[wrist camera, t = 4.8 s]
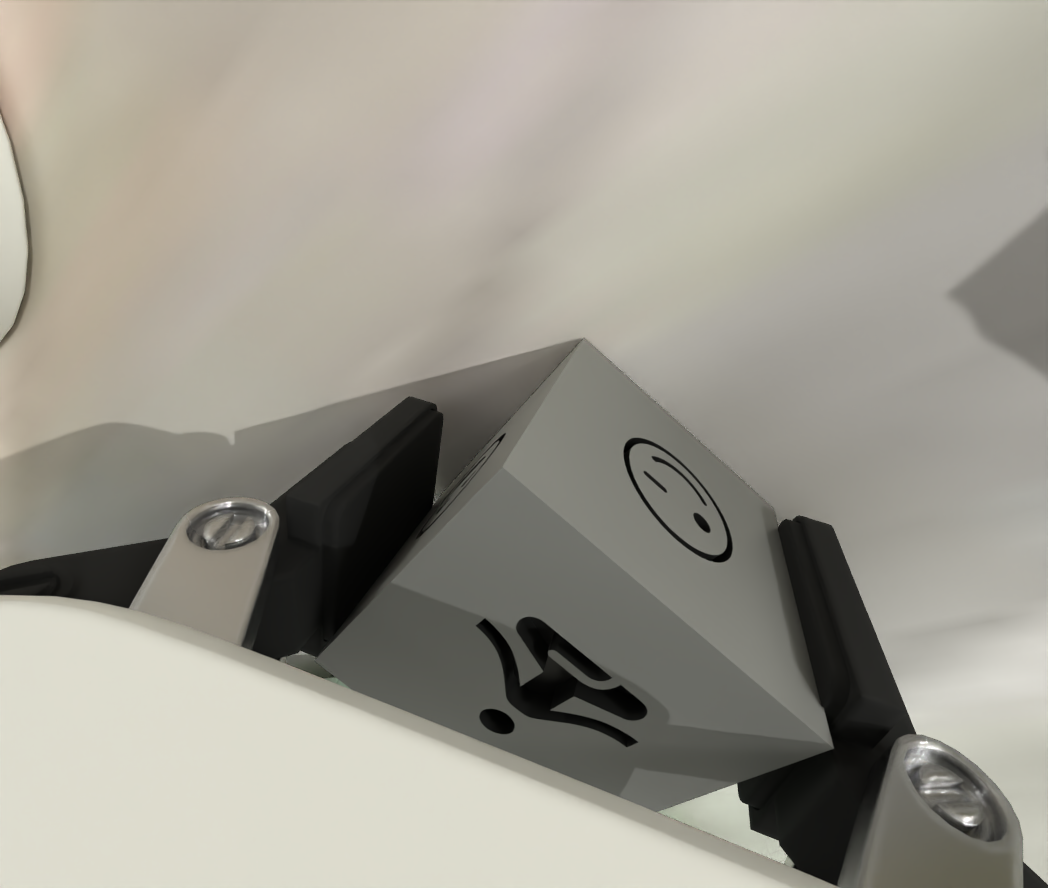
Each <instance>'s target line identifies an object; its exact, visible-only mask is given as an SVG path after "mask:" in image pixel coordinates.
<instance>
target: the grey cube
mask: <svg viewBox="0 0 1048 888" xmlns="http://www.w3.org/2000/svg"><path fill="white" fill-rule="evenodd" d="M314 661H315V662H316V663H318V664H319V665H320V666H321V667H323V668H324V669H325V670H327V671H328V672H329V673H331V674H332V675H333V676H335V677H336V678H337V679H338V680H340V681H341V682H342V683H344V684H345V685H346V686H348V687H349V688H350V689H352V690H354V691H356V692H359V693H361V694H364V695H366V696H369V697H371V698H374V699H376V700H379V701H381V702H384V703H386V704H389V705H391V706H394V707H397V708H399V709H402V710H404V711H407V712H409V713H412V714H414V715H417V716H419V717H422V718H424V719H427V720H429V721H432V722H434V723H437V724H439V725H442V726H444V727H447V728H449V729H452V730H454V731H457V732H459V733H462V734H464V735H467V736H469V737H472V738H474V739H477V740H479V741H482V742H484V743H487V744H489V745H492V746H494V747H496V748H499V749H501V750H504V751H506V752H509V753H511V754H514V755H516V756H519V757H521V758H524V759H526V760H529V761H531V762H534V763H536V764H539V765H541V766H544V767H546V768H549V769H551V770H554V771H556V772H559V773H561V774H564V775H566V776H568V777H571V778H573V779H576V780H578V781H581V782H583V783H586V784H588V785H591V786H593V787H596V788H598V789H601V790H603V791H606V792H608V793H611V794H613V795H616V796H618V797H620V798H623V799H625V800H628V801H630V802H633V803H635V804H638V805H640V806H643V807H645V808H647V809H650V810H652V811H655V812H658V811H661V810H664V809H666V808H669V807H672V806H675V805H678V804H680V803H683V802H686V801H689V800H692V799H694V798H697V797H700V796H703V795H706V794H708V793H711V792H714V791H717V790H720V789H722V788H725V787H728V786H731V785H734V784H736V783H739V782H742V781H745V780H748V779H750V778H753V777H756V776H759V775H762V774H764V773H767V772H770V771H773V770H776V769H778V768H781V767H784V766H787V765H789V764H792V763H795V762H798V761H801V760H803V759H806V758H809V757H812V756H815V755H817V754H820V753H823V752H826V751H829V750H831V749H834V747H833V743H832V739H831V735H830V731H829V727H828V723H827V719H826V715H825V711H824V708H823V707H822V706H821V703H820V699H819V695H818V691H817V687H816V683H815V678H814V674H813V670H812V666H811V662H810V658H809V654H808V650H807V646H806V642H805V638H804V634H803V630H802V626H801V622H800V618H799V614H798V609H797V605H796V601H795V597H794V593H793V589H792V585H791V581H790V577H789V573H788V569H787V565H786V561H785V557H784V553H783V549H782V545H781V540H780V536H779V532H778V524H777V520H776V516H775V512H774V508H773V507H771V506H770V505H769V504H768V503H767V502H766V501H765V500H764V499H763V498H761V497H760V496H759V495H758V494H757V493H756V492H755V491H754V490H753V489H751V488H750V487H749V486H748V485H747V484H746V483H745V482H744V481H743V480H741V479H740V478H739V477H738V476H737V475H736V474H735V473H734V472H733V471H731V470H730V469H729V468H728V467H727V466H726V465H725V464H724V463H723V462H721V461H720V460H719V459H718V458H717V457H716V456H715V455H714V454H713V453H712V452H710V451H709V450H708V449H707V448H706V447H705V446H704V445H703V444H702V443H700V442H699V441H698V440H697V439H696V438H695V437H694V436H693V435H692V434H690V433H689V432H688V431H687V430H686V429H685V428H684V427H683V426H682V425H680V424H679V423H678V422H677V421H676V420H675V419H674V418H673V417H672V416H670V415H669V414H668V413H667V412H666V411H665V410H664V409H663V408H662V407H660V406H659V405H658V404H657V403H656V402H655V401H654V400H653V399H652V398H650V397H649V396H648V395H647V394H646V393H645V392H644V391H643V390H642V389H640V388H639V387H638V386H637V385H636V384H635V383H634V382H633V381H632V380H630V379H629V378H628V377H627V376H626V375H625V374H624V373H623V372H622V371H620V370H619V369H618V368H617V367H616V366H615V365H614V364H613V363H612V362H610V361H609V360H608V359H607V358H606V357H605V356H604V355H603V354H602V353H600V352H599V351H598V350H597V349H596V348H595V347H594V346H593V345H592V344H590V343H589V342H588V341H587V340H586V339H585V338H583V339H582V340H581V341H580V343H579V344H578V345H577V346H576V347H575V348H574V349H573V350H572V351H571V352H570V354H569V355H568V356H567V357H566V358H565V359H564V360H563V361H562V362H561V363H560V365H559V366H558V367H557V368H556V369H555V370H554V371H553V372H552V373H551V374H550V376H549V377H548V378H547V379H546V380H545V381H544V382H543V383H542V384H541V385H540V387H539V388H538V389H537V390H536V391H535V392H534V393H533V394H532V395H531V396H530V398H529V399H528V400H527V401H526V402H525V403H524V404H523V405H522V406H521V407H520V408H519V410H518V411H517V412H516V413H515V414H514V415H513V416H512V417H511V418H510V419H509V421H508V422H507V423H506V424H505V425H504V426H503V427H502V428H501V429H500V430H499V432H498V433H497V434H496V435H495V436H494V437H493V438H492V439H491V440H490V441H489V443H488V444H487V445H486V446H485V447H484V448H483V449H482V450H481V451H480V452H479V454H478V455H477V456H476V457H475V458H474V459H473V460H472V461H471V462H470V463H469V465H468V466H467V467H466V468H465V469H464V470H463V471H462V472H461V473H460V474H459V475H458V477H457V478H456V479H455V480H454V481H453V482H452V483H451V484H450V485H449V486H448V488H447V489H446V490H445V491H444V492H443V493H442V495H441V496H440V497H439V499H438V500H437V501H436V503H435V504H434V505H433V507H432V508H431V509H430V511H429V512H428V513H427V515H426V516H425V517H424V518H423V520H422V521H421V522H420V524H419V525H418V526H417V528H416V529H415V530H414V531H413V533H412V534H411V535H410V537H409V538H408V539H407V541H406V542H405V543H404V545H403V546H402V547H401V548H400V550H399V551H398V552H397V554H396V555H395V556H394V558H393V559H392V560H391V562H390V563H389V564H388V565H387V567H386V568H385V569H384V571H383V572H382V573H381V575H380V576H379V577H378V578H377V580H376V581H375V582H374V584H373V585H372V586H371V588H370V589H369V590H368V592H367V593H366V594H365V595H364V597H363V598H362V599H361V601H360V602H359V603H358V605H357V606H356V607H355V608H354V610H353V611H352V612H351V614H350V615H349V616H348V618H347V619H346V620H345V622H344V623H343V624H342V625H341V627H340V628H339V629H338V631H337V632H336V633H335V634H334V636H333V637H332V638H331V639H330V641H329V642H328V643H327V645H326V646H325V647H324V649H323V650H322V651H321V653H320V654H319V655H318V656H317V658H316V659H315V660H314Z"/></svg>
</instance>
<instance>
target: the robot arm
mask: <svg viewBox="0 0 1048 888" xmlns="http://www.w3.org/2000/svg"><path fill="white" fill-rule="evenodd" d="M28 250H29V249H28V239H27V228H26V218H25V207H24V198H23V194H22V190H21V185H20V181H19V177H18V173H17V169H16V164H15V160H14V156H13V152H12V148H11V143H10V139H9V136H8V134H7V131H6V128H5V125H4V123H3V120H2V117H1V114H0V341H1V340H2V339H3V338H4V336H5V335H6V334H7V332H8V331H9V330H10V329H11V327H12V326H13V324H14V321H15V319H16V316H17V313H18V310H19V307H20V304H21V301H22V298H23V295H24V292H25V285H26V273H27V262H28ZM442 426H443V414H442V413H440V412H437V407H436V405H435V404H434V403H430V402H427V401H424V400H420V399H417V398H414V397H410V396H409V397H407V398H406V399H405V400H403V401H402V402H401V403H400V404H398V405H397V406H396V407H395V408H393V409H392V410H391V411H390V412H388V413H387V414H386V415H385V416H383V417H382V418H381V419H380V420H378V421H377V422H376V423H375V424H373V425H372V426H371V427H370V428H368V429H367V430H366V431H365V432H363V433H362V434H361V435H360V436H358V437H357V438H356V439H355V440H353V441H352V442H349V443H348V444H346V445H344V446H343V447H342V448H341V449H339V450H338V451H337V452H336V453H334V454H333V455H332V456H331V457H329V458H328V459H327V460H326V461H324V462H323V463H322V464H321V465H319V466H318V467H317V468H316V469H314V470H313V471H312V472H310V473H309V474H308V475H307V476H305V477H304V478H303V479H302V480H300V481H299V482H298V483H297V484H295V485H294V486H293V487H292V488H290V489H289V490H288V491H287V492H285V493H284V494H283V495H281V496H280V497H279V498H278V499H276V500H275V501H274V502H273V503H271V504H270V505H269V504H268V503H266V502H263V501H260V500H257V499H253V498H246V497H230V498H222V499H218V500H213V501H210V502H207V503H205V504H202V505H200V506H197V507H195V508H194V509H192V510H191V511H189V512H188V513H186V514H185V515H184V516H183V517H182V518H181V520H180V521H179V522H178V523H177V524H176V526H175V528H174V530H173V531H172V533H171V535H170V537H169V538H167V539H161V540H155V541H149V542H142V543H136V544H130V545H124V546H118V547H112V548H106V549H100V550H94V551H88V552H82V553H76V554H69V555H63V556H57V557H51V558H45V559H39V560H33V561H29V562H25V563H21V564H16V565H12V566H10V567H7V568H5V569H2V570H0V888H1048V885H1047V884H1046V883H1045V882H1044V881H1043V880H1042V879H1041V878H1040V877H1039V876H1038V875H1037V874H1036V873H1035V872H1034V871H1032V870H1031V869H1030V868H1029V867H1028V866H1027V865H1026V864H1025V863H1024V862H1023V836H1022V832H1021V827H1020V822H1019V820H1018V818H1017V816H1016V814H1015V812H1014V810H1013V808H1012V806H1011V804H1010V802H1009V801H1008V800H1007V798H1006V797H1005V796H1004V794H1003V793H1002V792H1001V790H1000V789H999V788H998V787H997V785H996V784H995V783H994V782H993V781H992V780H991V779H990V778H989V777H988V776H987V775H986V774H985V773H984V772H983V771H982V770H981V769H980V768H979V767H978V766H977V765H976V764H974V763H973V762H972V761H970V760H969V759H968V758H966V757H965V756H964V755H962V754H961V753H960V752H959V751H957V750H955V749H953V748H951V747H950V746H948V745H946V744H944V743H942V742H941V741H938V740H936V739H933V738H930V737H927V736H924V735H916V732H915V730H914V727H913V725H912V722H911V720H910V717H909V715H908V712H907V710H906V707H905V705H904V702H903V700H902V697H901V695H900V692H899V690H898V687H897V685H896V682H895V680H894V678H893V675H892V673H891V670H890V668H889V665H888V663H887V660H886V658H885V655H884V653H883V650H882V648H881V645H880V643H879V640H878V638H877V635H876V633H875V630H874V628H873V625H872V623H871V620H870V618H869V616H868V613H867V611H866V608H865V606H864V603H863V601H862V598H861V596H860V594H859V591H858V589H857V586H856V584H855V581H854V579H853V576H852V574H851V571H850V569H849V566H848V564H847V561H846V559H845V556H844V554H843V551H842V549H841V546H840V544H839V541H838V539H837V536H836V534H835V531H834V529H833V527H832V526H831V525H829V524H826V523H823V522H819V521H816V520H813V519H810V518H806V517H803V516H800V515H799V516H796V517H795V518H794V519H793V520H792V521H791V520H787V519H785V520H783V521H782V522H781V524H780V525H779V527H778V532H779V536H780V540H781V545H782V549H783V553H784V557H785V561H786V565H787V569H788V573H789V577H790V581H791V585H792V589H793V593H794V597H795V601H796V605H797V609H798V614H799V618H800V622H801V626H802V630H803V634H804V638H805V642H806V646H807V650H808V654H809V658H810V662H811V666H812V670H813V674H814V678H815V683H816V687H817V691H818V695H819V699H820V703H821V706H822V707H823V708H824V711H825V715H826V719H827V723H828V727H829V731H830V735H831V739H832V743H833V747H834V749H831V750H829V751H826V752H823V753H820V754H817V755H815V756H812V757H809V758H806V759H803V760H801V761H798V762H795V763H792V764H789V765H787V766H784V767H781V768H778V769H776V770H773V771H770V772H767V773H764V774H762V775H759V776H756V777H753V778H750V779H748V780H745V781H742V782H739V783H737V785H738V794H739V798H740V800H741V801H742V802H743V803H745V804H748V806H749V817H750V828H751V830H754V831H756V832H759V833H761V834H764V835H766V836H769V837H771V838H774V839H776V840H779V844H780V846H781V847H782V849H783V850H784V851H785V853H786V854H787V855H788V856H787V858H786V861H785V863H784V864H782V863H780V862H777V861H775V860H772V859H770V858H767V857H765V856H762V855H760V854H758V853H755V852H753V851H750V850H748V849H745V848H743V847H740V846H738V845H736V844H733V843H731V842H728V841H726V840H723V839H721V838H718V837H716V836H714V835H711V834H709V833H706V832H704V831H701V830H699V829H696V828H694V827H692V826H689V825H687V824H684V823H682V822H679V821H677V820H674V819H672V818H670V817H667V816H665V815H662V814H660V813H657V812H655V811H652V810H650V809H647V808H645V807H643V806H640V805H638V804H635V803H633V802H630V801H628V800H625V799H623V798H620V797H618V796H616V795H613V794H611V793H608V792H606V791H603V790H601V789H598V788H596V787H593V786H591V785H588V784H586V783H583V782H581V781H578V780H576V779H573V778H571V777H568V776H566V775H564V774H561V773H559V772H556V771H554V770H551V769H549V768H546V767H544V766H541V765H539V764H536V763H534V762H531V761H529V760H526V759H524V758H521V757H519V756H516V755H514V754H511V753H509V752H506V751H504V750H501V749H499V748H496V747H494V746H492V745H489V744H487V743H484V742H482V741H479V740H477V739H474V738H472V737H469V736H467V735H464V734H462V733H459V732H457V731H454V730H452V729H449V728H447V727H444V726H442V725H439V724H437V723H434V722H432V721H429V720H427V719H424V718H422V717H419V716H417V715H414V714H412V713H409V712H407V711H404V710H402V709H399V708H397V707H394V706H391V705H389V704H386V703H384V702H381V701H379V700H376V699H374V698H371V697H369V696H366V695H364V694H361V693H359V692H356V691H354V690H351V689H349V688H346V687H343V686H341V685H338V684H336V683H333V682H331V681H328V680H326V679H323V678H321V677H318V676H316V675H313V674H311V673H308V672H306V671H303V670H301V669H298V668H296V667H293V666H290V665H288V664H285V663H286V659H287V656H289V655H292V654H296V653H298V652H299V650H300V651H303V652H305V653H308V654H310V655H313V656H315V657H317V656H318V655H319V654H320V653H321V651H322V650H323V649H324V647H325V646H326V645H327V643H328V642H329V641H330V639H331V638H332V637H333V636H334V634H335V633H336V632H337V631H338V629H339V628H340V627H341V625H342V624H343V623H344V622H345V620H346V619H347V618H348V616H349V615H350V614H351V612H352V611H353V610H354V608H355V607H356V606H357V605H358V603H359V602H360V601H361V599H362V598H363V597H364V595H365V594H366V593H367V592H368V590H369V589H370V588H371V586H372V585H373V584H374V582H375V581H376V580H377V578H378V577H379V576H380V575H381V573H382V572H383V571H384V569H385V568H386V567H387V565H388V564H389V563H390V562H391V560H392V559H393V558H394V556H395V555H396V554H397V552H398V551H399V550H400V548H401V547H402V546H403V545H404V543H405V542H406V541H407V539H408V538H409V537H410V535H411V534H412V533H413V531H414V530H415V529H416V528H417V526H418V525H419V524H420V522H421V521H422V520H423V518H424V517H425V516H426V515H427V513H428V512H429V511H430V509H431V508H432V507H433V499H434V491H435V483H436V475H437V467H438V459H439V451H440V443H441V434H442Z"/></svg>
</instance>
